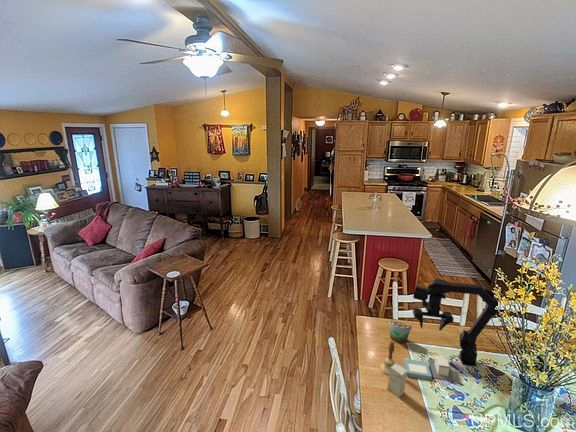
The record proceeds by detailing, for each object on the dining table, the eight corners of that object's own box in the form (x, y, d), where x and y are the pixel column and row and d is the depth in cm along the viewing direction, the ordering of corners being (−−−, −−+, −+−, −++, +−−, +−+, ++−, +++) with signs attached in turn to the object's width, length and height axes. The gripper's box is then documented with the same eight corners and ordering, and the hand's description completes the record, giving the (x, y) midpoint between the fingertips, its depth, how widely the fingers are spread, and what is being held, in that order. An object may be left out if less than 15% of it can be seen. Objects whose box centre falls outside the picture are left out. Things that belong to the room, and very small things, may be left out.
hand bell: (397, 365, 153) (401, 338, 149) (397, 377, 146) (400, 349, 141) (380, 361, 156) (383, 334, 152) (379, 372, 149) (382, 344, 144)
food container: (385, 340, 172) (387, 324, 169) (387, 333, 177) (389, 318, 175) (408, 347, 167) (410, 331, 164) (410, 340, 172) (412, 325, 169)
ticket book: (426, 364, 154) (427, 361, 153) (431, 380, 145) (431, 376, 144) (403, 361, 156) (404, 357, 156) (406, 375, 147) (407, 372, 146)
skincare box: (386, 389, 139) (389, 366, 136) (392, 384, 142) (395, 362, 139) (399, 398, 134) (402, 375, 131) (404, 393, 137) (408, 370, 134)
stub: (444, 365, 153) (445, 356, 152) (448, 376, 146) (449, 366, 145) (434, 364, 154) (435, 354, 152) (437, 374, 147) (439, 365, 146)
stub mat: (447, 363, 155) (448, 362, 155) (454, 381, 144) (455, 380, 144) (427, 360, 157) (427, 359, 157) (433, 378, 146) (433, 377, 146)
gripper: (449, 297, 164) (445, 322, 168) (412, 293, 168) (409, 318, 172) (456, 308, 154) (451, 335, 158) (416, 304, 157) (412, 330, 161)
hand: (430, 329), depth 162 cm, fingers open, 9 cm apart
